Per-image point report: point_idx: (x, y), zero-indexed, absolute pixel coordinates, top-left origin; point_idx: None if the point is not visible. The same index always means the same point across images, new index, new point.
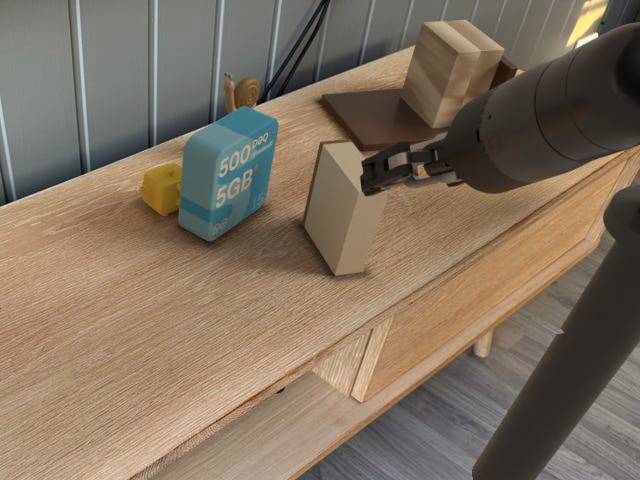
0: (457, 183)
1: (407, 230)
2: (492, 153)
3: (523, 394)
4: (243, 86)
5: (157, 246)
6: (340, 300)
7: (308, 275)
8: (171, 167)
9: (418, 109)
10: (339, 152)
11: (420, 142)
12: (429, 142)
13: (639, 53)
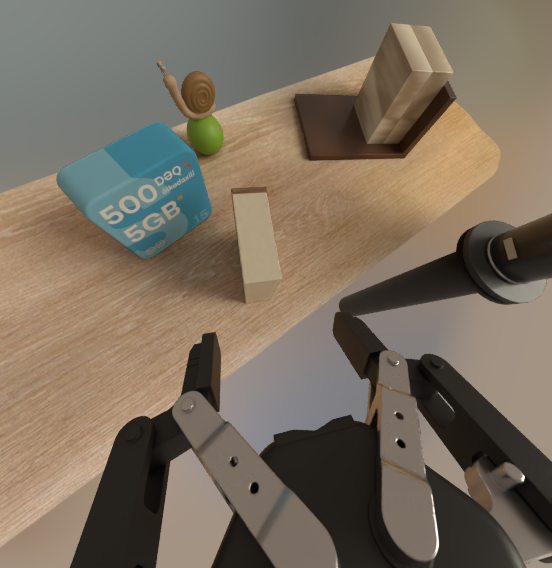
0: (343, 350)
1: (318, 253)
2: None
3: (369, 293)
4: (189, 84)
5: (103, 258)
6: (242, 332)
7: (224, 301)
8: None
9: (362, 122)
10: (246, 209)
11: (228, 494)
12: (245, 524)
13: None
